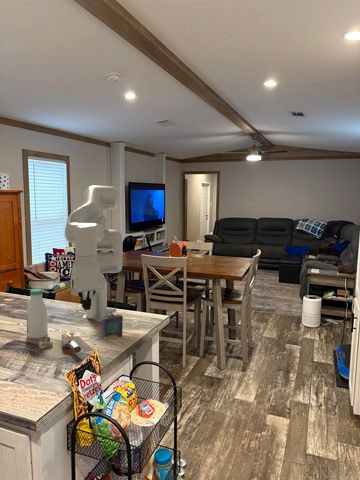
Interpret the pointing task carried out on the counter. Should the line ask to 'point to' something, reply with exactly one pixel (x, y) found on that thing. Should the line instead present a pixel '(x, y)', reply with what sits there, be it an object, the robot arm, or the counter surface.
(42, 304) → the milk bottle
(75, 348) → the crank handle
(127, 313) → the counter surface
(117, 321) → the flask
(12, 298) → the counter surface
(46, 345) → the lever stand
